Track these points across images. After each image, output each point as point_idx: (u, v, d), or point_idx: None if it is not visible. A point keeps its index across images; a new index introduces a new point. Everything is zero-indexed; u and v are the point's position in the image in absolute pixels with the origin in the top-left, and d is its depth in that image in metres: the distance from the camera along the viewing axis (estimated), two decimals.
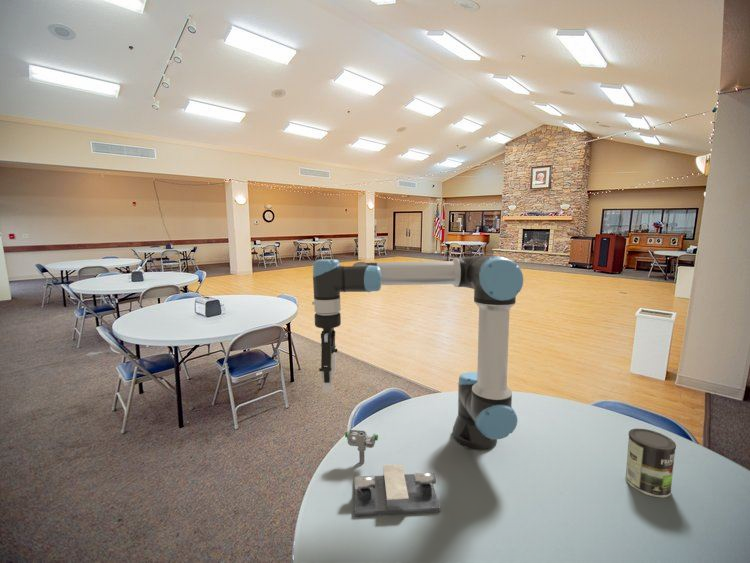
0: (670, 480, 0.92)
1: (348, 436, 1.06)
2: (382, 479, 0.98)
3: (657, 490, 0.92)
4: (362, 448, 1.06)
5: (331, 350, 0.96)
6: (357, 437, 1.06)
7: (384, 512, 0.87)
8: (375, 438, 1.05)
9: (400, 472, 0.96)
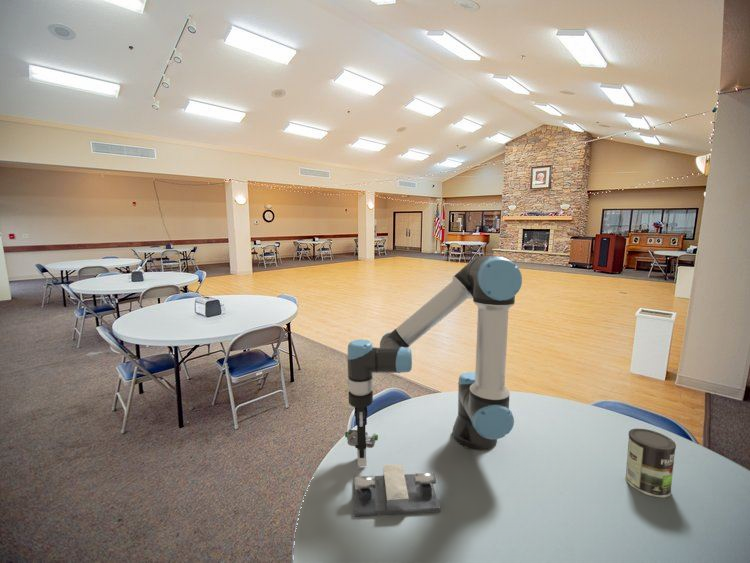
0: (670, 480, 0.92)
1: (348, 436, 1.06)
2: (382, 479, 0.98)
3: (657, 490, 0.92)
4: None
5: None
6: None
7: (384, 512, 0.87)
8: (375, 438, 1.05)
9: (400, 472, 0.96)
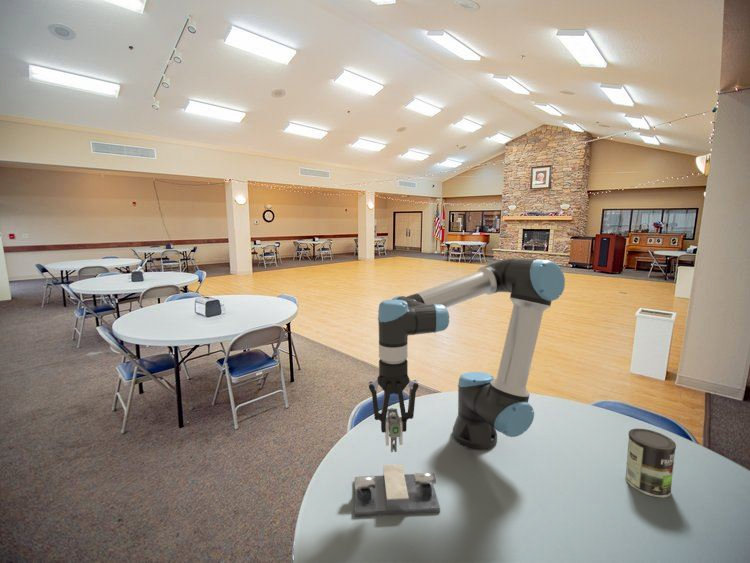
0: (670, 480, 0.92)
1: (387, 412, 0.95)
2: (382, 479, 0.98)
3: (657, 490, 0.92)
4: (390, 433, 0.92)
5: (385, 401, 0.90)
6: (388, 417, 0.93)
7: (384, 512, 0.87)
8: (392, 429, 0.87)
9: (400, 472, 0.96)
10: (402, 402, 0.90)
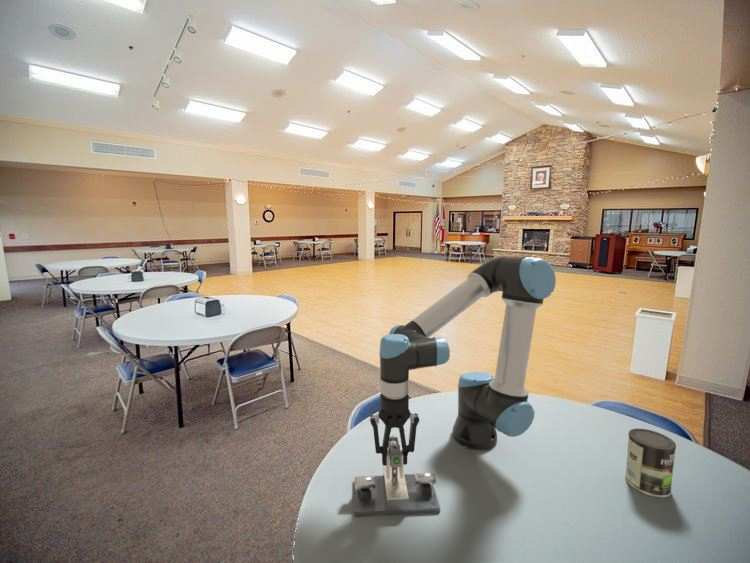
0: (670, 480, 0.92)
1: None
2: (382, 479, 0.98)
3: (657, 490, 0.92)
4: None
5: (387, 435, 0.90)
6: (389, 446, 0.93)
7: (384, 512, 0.87)
8: (393, 460, 0.88)
9: None
10: (403, 436, 0.91)
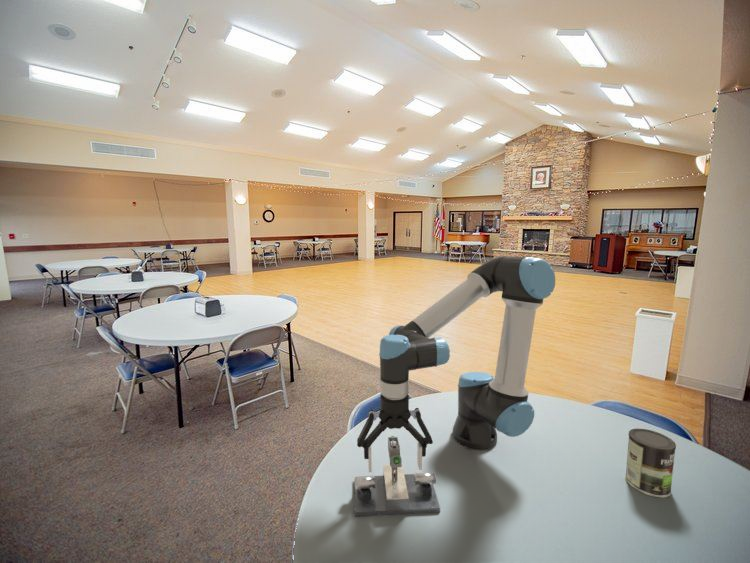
0: (670, 480, 0.92)
1: (388, 440, 0.96)
2: (382, 479, 0.98)
3: (657, 490, 0.92)
4: None
5: (378, 432, 0.90)
6: (389, 446, 0.93)
7: (384, 512, 0.87)
8: (393, 460, 0.88)
9: (400, 472, 0.96)
10: (413, 432, 0.91)
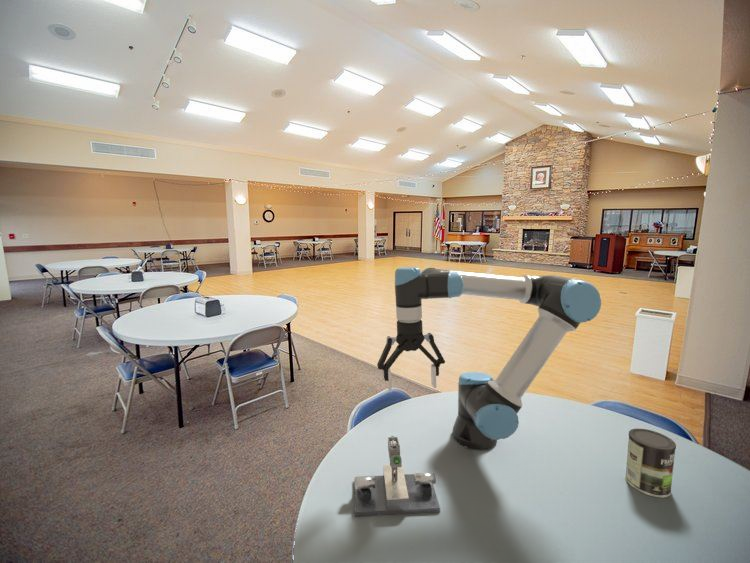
0: (670, 480, 0.92)
1: (388, 440, 0.96)
2: (382, 479, 0.98)
3: (657, 490, 0.92)
4: None
5: (396, 354, 1.00)
6: (389, 446, 0.93)
7: (384, 512, 0.87)
8: (393, 460, 0.88)
9: (400, 472, 0.96)
10: (427, 353, 1.01)
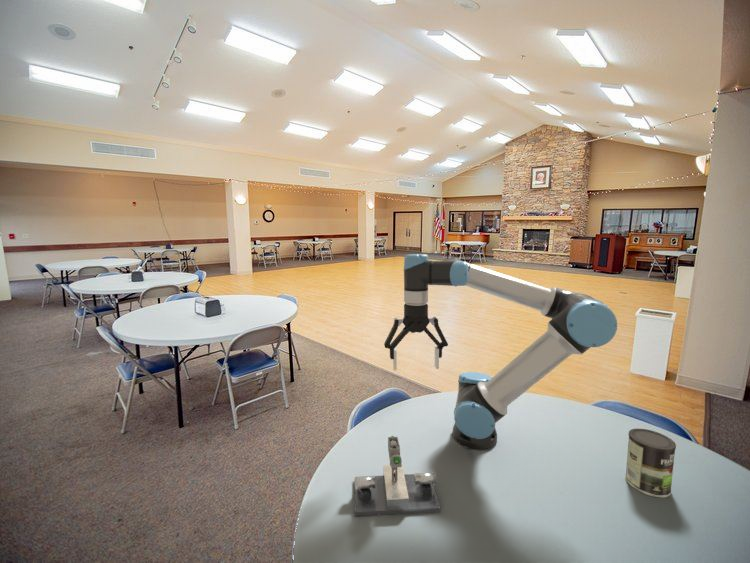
0: (670, 480, 0.92)
1: (388, 440, 0.96)
2: (382, 479, 0.98)
3: (657, 490, 0.92)
4: None
5: (402, 335, 1.07)
6: (389, 446, 0.93)
7: (384, 512, 0.87)
8: (393, 460, 0.88)
9: (400, 472, 0.96)
10: (432, 335, 1.08)
